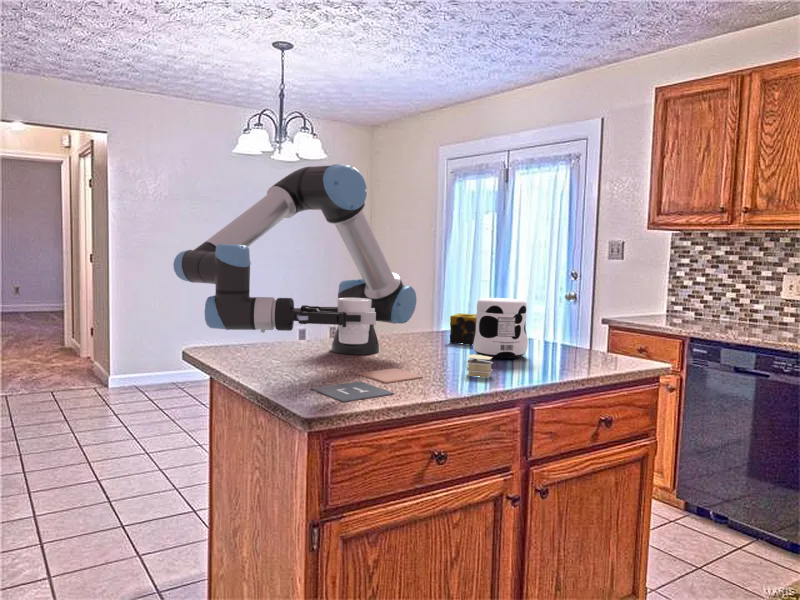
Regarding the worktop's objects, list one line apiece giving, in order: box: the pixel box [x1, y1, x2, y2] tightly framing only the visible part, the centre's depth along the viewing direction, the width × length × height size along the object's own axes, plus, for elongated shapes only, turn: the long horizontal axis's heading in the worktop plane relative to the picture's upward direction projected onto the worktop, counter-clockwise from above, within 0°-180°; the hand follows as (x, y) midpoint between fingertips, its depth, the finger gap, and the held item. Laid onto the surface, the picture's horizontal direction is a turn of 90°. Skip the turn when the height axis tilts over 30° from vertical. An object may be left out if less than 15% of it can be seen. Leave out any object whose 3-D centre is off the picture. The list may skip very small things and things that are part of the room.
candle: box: [449, 313, 476, 345], centre depth 223 cm, size 10×10×10 cm
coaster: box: [358, 367, 424, 384], centre depth 163 cm, size 12×12×1 cm
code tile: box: [311, 380, 395, 403], centre depth 145 cm, size 14×14×1 cm
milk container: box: [472, 297, 529, 359], centre depth 197 cm, size 17×17×18 cm
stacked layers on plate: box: [466, 353, 494, 378], centre depth 167 cm, size 10×9×6 cm
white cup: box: [336, 297, 372, 344], centre depth 144 cm, size 8×8×10 cm
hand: (375, 316), depth 144 cm, fingers closed on white cup, 8 cm apart
